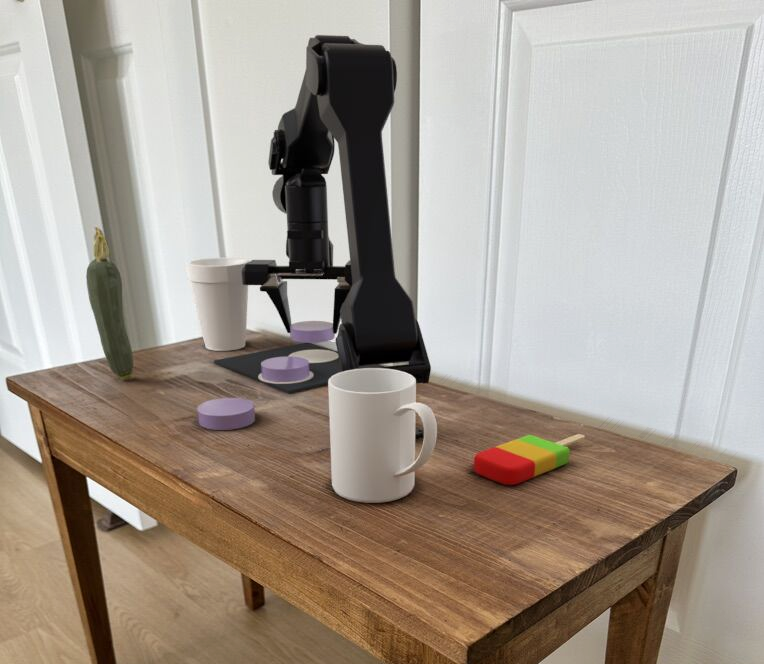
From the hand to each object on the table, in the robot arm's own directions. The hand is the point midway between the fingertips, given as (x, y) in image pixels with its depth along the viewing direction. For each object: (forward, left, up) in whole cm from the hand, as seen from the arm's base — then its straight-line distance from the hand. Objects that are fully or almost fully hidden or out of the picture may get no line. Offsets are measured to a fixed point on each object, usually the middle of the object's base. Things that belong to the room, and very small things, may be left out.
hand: (312, 332), depth 113 cm
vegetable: (+8, +27, -4) cm, 28 cm away
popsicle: (-48, +6, -4) cm, 48 cm away
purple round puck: (-6, +9, -4) cm, 11 cm away
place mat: (-2, +4, -4) cm, 6 cm away
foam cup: (+16, +6, -4) cm, 18 cm away
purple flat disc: (-16, +24, -4) cm, 29 cm away
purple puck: (0, 0, -1) cm, 1 cm away
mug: (-44, +23, -4) cm, 50 cm away
